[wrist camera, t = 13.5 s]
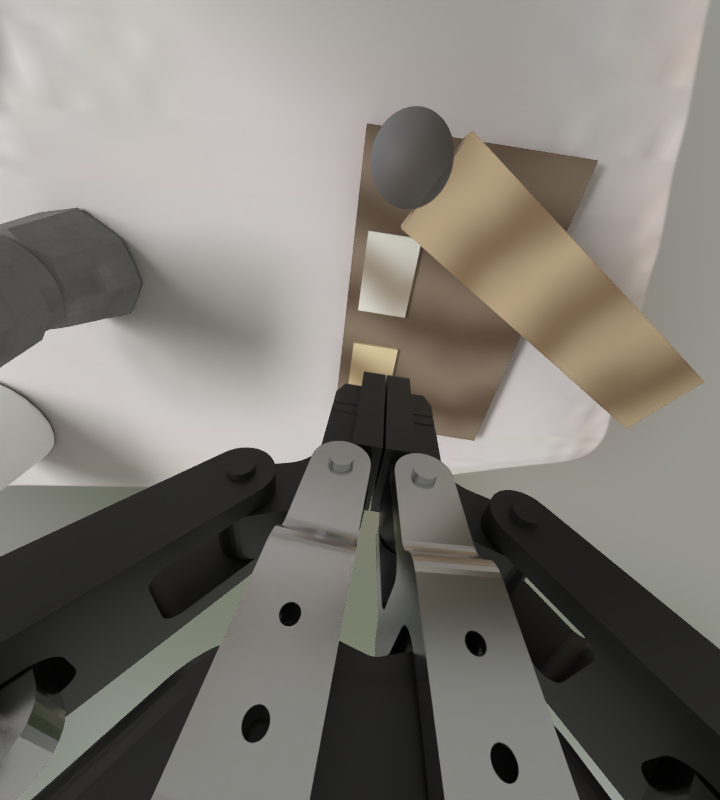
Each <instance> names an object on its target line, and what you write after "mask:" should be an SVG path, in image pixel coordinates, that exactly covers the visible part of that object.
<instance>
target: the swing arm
mask: <svg viewBox="0 0 720 800" xmlns="http://www.w3.org/2000/svg"><path fill="white" fill-rule="evenodd" d="M371 173H372V177H373V181H374V184H375V186H376V188H377V190H378V192H379V193H380V195H381V196H382V197H383V198H384V199H385V200H386V201H387V202H388V203H390V204H391V205H393V206H395V207H398V208H401V209H412V211H411V212H410V213H409V215H408V216H407V218H406V219H405V220H404V222H403V223H402V225H401V229H402V230H403V231H404V232H406V233H407V234H408V235H409V236H410V237H411V238H412V239H413V240H415V241H416V242H417V243H418V244H419V245H420V246H421V247H422V248H424V249H425V250H426V251H427V252H428V253H429V254H430V255H431V256H433V257H434V258H435V259H436V260H437V261H438V262H439V263H440V264H442V265H443V266H444V267H445V268H446V269H447V270H448V271H449V272H451V273H452V274H453V275H454V276H455V277H456V278H457V279H458V280H460V281H461V282H462V283H463V284H464V285H465V286H466V287H467V288H469V289H470V290H471V291H472V292H473V293H474V294H475V295H476V296H478V297H479V298H480V299H481V300H482V301H483V302H484V303H486V304H487V305H488V306H489V307H490V308H491V309H492V310H493V311H495V312H496V313H497V314H498V315H499V316H500V317H501V318H502V319H504V320H505V321H506V322H507V323H508V324H509V325H510V326H511V327H513V328H514V329H515V330H516V331H517V332H518V333H519V334H520V335H522V336H523V337H524V338H525V339H526V340H527V341H528V342H529V343H531V344H532V345H533V346H534V347H535V348H536V349H537V350H538V351H540V352H541V353H542V354H543V355H544V356H545V357H546V358H547V359H549V360H550V361H551V362H552V363H553V364H554V365H555V366H556V367H558V368H559V369H560V370H561V371H562V372H563V373H564V374H565V375H567V376H568V377H569V378H570V379H571V380H572V381H573V382H574V383H576V384H577V385H578V386H579V387H580V388H581V389H582V390H583V391H585V392H586V393H587V394H588V395H589V396H590V397H591V398H592V399H594V400H595V401H596V402H597V403H598V404H599V405H600V406H601V407H603V408H604V409H605V410H606V411H607V412H608V413H609V414H610V415H612V416H613V417H614V418H615V419H616V420H617V421H618V422H620V423H621V424H622V425H623V426H624V427H625V428H628V427H630V426H632V425H633V424H635V423H636V422H638V421H640V420H641V419H643V418H645V417H647V416H648V415H650V414H652V413H653V412H655V411H657V410H658V409H660V408H661V407H663V406H665V405H667V404H668V403H670V402H672V401H673V400H675V399H677V398H678V397H680V396H682V395H683V394H685V393H687V392H688V391H690V390H692V389H693V388H695V387H697V386H698V385H700V384H702V383H704V381H703V380H702V379H701V377H700V376H699V375H698V374H697V373H696V372H695V371H694V370H693V369H692V368H691V367H690V366H689V364H688V363H687V362H686V361H685V360H684V359H683V358H682V357H681V356H680V355H679V354H678V353H677V351H676V350H675V349H674V348H673V347H672V346H671V345H670V344H669V343H668V342H667V341H666V339H665V338H664V337H663V336H662V335H661V334H660V333H659V332H658V331H657V330H656V329H655V328H654V327H653V325H652V324H651V323H650V322H649V321H648V320H647V319H646V318H645V317H644V316H643V315H642V313H641V312H640V311H639V310H638V309H637V308H636V307H635V306H634V305H633V304H632V303H631V302H630V301H629V299H628V298H627V297H626V296H625V295H624V294H623V293H622V292H621V291H620V290H619V289H618V288H617V286H616V285H615V284H614V283H613V282H612V281H611V280H610V279H609V278H608V277H607V276H606V275H605V273H604V272H603V271H602V270H601V269H600V268H599V267H598V266H597V265H596V264H595V263H594V262H593V260H592V259H591V258H590V257H589V256H588V255H587V254H586V253H585V252H584V251H583V250H582V249H581V247H580V246H579V245H578V244H577V243H576V242H575V241H574V240H573V239H572V238H571V237H570V236H569V234H568V233H567V232H566V231H565V230H564V229H563V228H562V227H561V226H560V225H559V224H558V223H557V221H556V220H555V219H554V218H553V217H552V216H551V215H550V214H549V213H548V212H547V211H546V210H545V208H544V207H543V206H542V205H541V204H540V203H539V202H538V201H537V200H536V199H535V198H534V197H533V195H532V194H531V193H530V192H529V191H528V190H527V189H526V188H525V187H524V186H523V185H522V184H521V182H520V181H519V180H518V179H517V178H516V177H515V176H514V175H513V174H512V173H511V172H510V171H509V170H508V168H507V167H506V166H505V165H504V164H503V163H502V162H501V161H500V160H499V159H498V158H497V157H496V155H495V154H494V153H493V152H492V151H491V150H490V149H489V148H488V147H487V146H486V145H485V144H484V142H483V141H482V140H481V139H480V138H479V137H478V136H477V135H476V134H475V133H474V132H473V131H472V132H471V133H469V134H468V135H467V136H465V137H464V139H463V140H462V141H461V143H460V144H459V146H458V147H457V148H456V150H455V151H454V145H453V139H452V136H451V133H450V130H449V128H448V126H447V124H446V123H445V121H444V120H443V119H442V118H441V117H440V116H439V115H438V114H437V113H436V112H434V111H432V110H430V109H428V108H425V107H420V106H413V107H408V108H404V109H402V110H400V111H398V112H396V113H395V114H393V115H392V116H391V117H390V118H389V119H388V120H387V121H386V122H385V123H384V124H383V126H382V127H381V129H380V130H379V132H378V134H377V136H376V138H375V141H374V144H373V148H372V153H371Z"/></svg>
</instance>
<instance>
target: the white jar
mask: <svg viewBox="0 0 720 800" xmlns="http://www.w3.org/2000/svg"><path fill="white" fill-rule="evenodd" d="M53 445H54V433H53V431H52V428H51V426H50V424H49V422H48V421H47V420H46V419H45V417H44V416H43V415H42V413H41V412H40V411H39V410H38V409H37V408H35V407H34V406H33V405H32V404H31V403H30V402H29V401H27V400H26V399H25V398H23V397H22V396H20V395H19V394H17V393H15V392H14V391H12V390H11V389H9V388H7V387H4V386H2V385H0V491H1V490H2V489H4V488H5V487H6V486H8V485H9V484H10V483H12V482H13V481H14V480H16V479H17V478H18V477H19V476H21V475H22V474H23V473H25V472H26V471H27V470H28V469H30V468H31V467H32V466H34V465H35V464H36V463H38V462H39V461H40V460H41V459H43V458H44V457H45V456H47V455H48V453H49V452H50V450H51V449H52V447H53Z"/></svg>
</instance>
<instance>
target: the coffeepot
mask: <svg viewBox="0 0 720 800" xmlns="http://www.w3.org/2000/svg"><path fill="white" fill-rule="evenodd" d="M141 284H142V283H141V279H140V276H139V273H138V270H137V267H136V264H135V262H134V260H133V258H132V256H131V254H130V252H129V251H128V249H127V248H126V247H125V245H124V243H123V241H122V239H121V238H119V237H118V236H117V235H116V234H115V233H114V232H112V231H111V230H110V229H109V228H108V227H106V226H105V225H104V224H103V223H101V222H100V221H98V220H96V219H95V218H93V217H91V216H89V215H87V214H86V213H84V212H83V211H81V210H80V209H79V208H72V209H64V210H56V211H48V212H41V213H36V214H33V215H30V216H27V217H23V218H20V219H17V220H13V221H10V222H7V223H3V224H0V367H2V366H3V365H5V364H6V363H8V362H9V361H11V360H12V359H14V358H15V357H17V356H18V355H20V354H21V353H23V352H24V351H26V350H27V349H29V348H30V347H32V346H33V345H35V344H36V343H38V342H39V341H41V340H42V339H43V336H44V333H45V331H47V330H49V329H57V328H63V327H69V326H74V325H78V324H83V323H88V322H92V321H97V320H101V319H106V318H111V317H115V316H120V315H124V314H129V313H131V311H132V308H133V306H134V304H135V302H136V301H137V299H138V296H139V292H140V287H141Z"/></svg>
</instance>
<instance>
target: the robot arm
mask: <svg viewBox="0 0 720 800" xmlns="http://www.w3.org/2000/svg"><path fill="white" fill-rule="evenodd" d="M434 426H435V425H434V419H433V413H432V407H431V405H430V404H429V402H428V401H427V400H426V399H425V397H424V396H422V395H415V394H411V387H410V379H409V378H404V377H398V376H392V375H387V377H386V375H385V374H379V373H372V372H366V371H364V374H363V380H362V386H358V385H352V384H346V383H345V384H344V385H343V386H342V387H341V388H340V389H338V390H337V392H336V395H335V399H334V403H333V406H332V410H331V413H330V417H329V420H328V424H327V427H326V431H325V434H324V438H323V441H322V444H321V446H319V447H318V448H317V449H316V450H315V451H314V453H313V454H312V456H311V457H309V458H307V459H304V460H301V461H298V462H292V463H281V464H275V463H274V461H273V459H272V458H271V456H270V455H268V454H267V453H266V452H264V451H262V450H259V449H255V448H237V449H233V450H229V451H227V452H224V453H222V454H220V455H218V456H216V457H214V458H212V459H209V460H207V461H205V462H203V463H201V464H199V465H197V466H194V467H192V468H190V469H188V470H186V471H184V472H181V473H179V474H177V475H175V476H173V477H171V478H169V479H166V480H164V481H162V482H160V483H158V484H156V485H154V486H151V487H149V488H147V489H145V490H143V491H141V492H138V493H136V494H134V495H132V496H130V497H128V498H126V499H123V500H121V501H119V502H117V503H115V504H113V505H111V506H108V507H106V508H104V509H102V510H100V511H98V512H95V513H94V514H91V515H89V516H87V517H85V518H83V519H80V520H79V521H76V522H74V523H72V524H70V525H68V526H66V527H63V528H61V529H59V530H57V531H55V532H52V533H50V534H48V535H46V536H44V537H42V538H40V539H38V540H35V541H33V542H31V543H29V544H27V545H25V546H23V547H20V548H18V549H16V550H14V551H12V552H10V553H7V554H5V555H3V556H1V557H0V800H16V799H17V798H18V797H19V796H20V795H21V794H22V793H23V792H24V791H25V790H26V789H27V788H28V787H29V786H30V785H31V784H32V782H33V781H34V780H35V779H36V778H37V777H38V775H39V774H40V773H41V771H42V770H43V768H44V767H45V766H46V764H47V763H48V761H49V759H50V758H51V756H52V754H53V753H54V750H55V748H56V746H57V744H58V742H59V740H60V737H61V734H62V731H63V727H64V723H65V717H66V716H67V715H69V714H70V713H71V712H73V711H74V710H75V709H77V708H78V707H79V706H80V705H82V704H83V703H84V702H86V701H87V700H88V699H90V698H91V697H92V696H93V695H95V694H96V693H97V692H99V691H100V690H101V689H103V688H104V687H105V686H106V685H108V684H109V683H110V682H111V681H113V680H114V679H116V678H117V677H118V676H119V675H121V674H122V673H123V672H125V671H126V670H127V669H128V668H130V667H131V666H132V665H134V664H135V663H136V662H137V661H139V660H140V659H141V658H143V657H144V656H145V655H147V654H148V653H149V652H151V651H152V650H153V649H154V648H156V647H157V646H158V645H160V644H161V643H162V642H163V641H165V640H166V639H167V638H169V637H170V636H171V635H173V634H174V633H175V632H177V631H178V630H179V629H180V628H182V627H183V626H184V625H186V624H187V623H188V622H190V621H191V620H192V619H193V618H195V617H196V616H197V615H199V614H200V613H201V612H202V611H204V610H205V609H206V608H208V607H209V606H210V605H212V604H213V603H214V602H215V601H217V600H218V599H219V598H221V597H222V596H223V595H224V594H226V593H227V592H228V591H230V590H231V589H232V588H234V587H235V586H236V585H238V584H239V583H240V582H241V581H243V580H244V579H245V578H246V577H248V576H249V575H250V574H252V575H251V577H250V579H249V582H248V584H247V586H246V588H245V590H244V593H243V595H242V597H241V599H240V602H239V604H238V606H237V608H236V611H235V613H234V615H233V617H232V620H231V622H230V624H229V627H228V628H227V631H226V633H225V636H224V638H223V640H222V642H221V644H220V645H219V646H217V647H215V648H212V649H210V650H208V651H206V652H205V653H203V654H201V655H200V656H198V657H196V658H194V659H193V660H191V661H190V662H188V663H187V664H186V665H184V666H183V667H182V668H180V669H179V670H177V671H176V672H175V673H174V674H172V675H171V676H170V677H169V678H168V679H166V680H165V681H164V682H163V683H162V684H161V685H160V686H158V687H157V688H156V689H155V690H154V691H153V692H152V693H151V694H149V695H148V696H147V697H146V698H145V699H144V700H143V701H142V702H141V703H139V704H138V705H137V706H136V707H135V708H134V709H133V710H132V711H130V712H129V713H128V714H127V715H126V716H125V717H124V718H123V719H121V720H120V721H119V722H118V723H117V724H116V725H115V726H114V727H113V728H112V729H110V730H109V731H108V732H107V733H106V734H105V735H103V736H102V737H101V738H100V739H99V740H98V741H97V742H96V743H95V744H93V745H92V746H91V747H90V748H89V749H88V750H87V751H86V752H84V754H82V755H81V756H80V757H79V758H78V759H77V760H76V761H74V762H73V763H72V764H71V765H70V766H69V767H68V768H66V769H65V770H64V771H63V772H62V773H61V774H60V775H59V776H57V777H56V778H55V779H54V780H53V781H52V782H51V783H50V784H49V785H47V786H46V787H45V788H44V789H43V790H42V791H41V792H39V793H38V794H37V795H36V796H35V797H34V798H33V799H32V800H611V798H610V797H609V796H608V794H607V793H606V792H605V791H604V789H603V788H602V786H601V785H600V784H599V782H598V781H597V780H596V778H595V777H594V776H593V775H592V773H591V772H590V770H589V769H588V768H587V766H586V765H585V764H584V763H583V761H582V760H581V758H580V757H579V756H578V754H577V753H576V752H575V751H574V749H573V748H572V746H571V745H570V744H569V743H568V741H567V740H566V739H565V738H564V736H563V735H562V734H561V733H560V732H559V730H558V729H557V728H556V727H555V726H554V725H553V722H552V719H551V716H550V713H549V711H548V707H547V705H546V702H547V704H548V705H549V706H550V707H551V709H552V710H553V711H554V712H555V714H556V715H557V716H558V717H559V718H560V720H561V721H562V722H563V724H564V725H565V726H566V727H567V729H568V730H569V731H570V732H571V734H572V735H573V736H574V737H575V738H576V740H577V741H578V742H579V744H580V745H581V746H582V747H583V749H584V750H585V751H586V752H587V754H588V755H589V756H590V757H591V758H592V760H593V761H594V762H595V763H596V765H597V766H598V767H599V768H600V770H601V771H602V772H603V773H604V775H605V776H606V777H607V778H608V780H609V781H610V782H611V783H612V785H613V786H614V787H615V788H616V789H617V791H618V792H619V793H620V795H621V796H622V797H623V798H624V800H720V649H719V648H717V647H716V646H715V645H714V644H713V643H711V642H710V641H709V640H708V639H706V638H705V637H704V636H702V634H700V633H699V632H698V631H697V630H695V629H694V628H693V627H692V626H691V625H689V624H688V623H687V622H686V621H684V620H683V619H682V618H681V617H679V616H678V615H677V614H676V613H675V612H673V611H672V610H671V609H670V608H668V607H667V606H666V605H665V604H664V603H662V602H661V601H660V600H659V599H657V598H656V597H655V596H653V595H652V594H651V593H650V592H649V591H648V590H646V589H645V588H644V587H643V586H641V585H640V584H639V583H638V582H637V581H635V580H634V579H633V578H632V577H630V576H629V575H628V574H627V573H625V572H624V571H623V570H622V569H621V568H619V567H618V566H617V565H616V564H614V563H613V562H612V561H611V560H609V559H608V558H607V557H606V556H605V555H603V554H602V553H601V552H600V551H599V550H597V549H596V548H595V547H594V546H592V545H591V544H590V543H589V542H587V541H586V540H585V539H584V538H583V537H581V536H580V535H579V534H578V533H577V532H575V531H574V530H573V529H572V528H570V527H569V526H568V525H567V524H565V523H564V522H563V521H562V520H561V519H559V518H558V517H557V516H556V515H554V514H553V513H552V512H551V511H550V510H548V509H547V508H546V507H545V506H543V505H542V504H541V503H539V502H538V501H537V500H535V499H534V498H532V497H530V496H528V495H526V494H524V493H521V492H518V491H512V490H504V491H499V492H497V493H496V494H495V495H493V497H492V498H491V500H490V499H488V498H485V497H483V496H481V495H478V494H476V493H474V492H471V491H469V490H467V489H465V488H463V487H461V486H460V485H458V484H457V483H455V481H454V478H453V475H452V473H451V471H450V470H449V469H448V467H447V466H446V465H445V464H444V463H442V462H441V459H440V453H439V448H438V442H437V436H436V430H435V428H434ZM371 496H372V499H371ZM370 501H371V511H375V512H380V516H379V527H378V531H377V534H376V570H377V603H378V620H377V630H376V638H375V657H373V656H369V655H366V654H364V653H362V652H360V651H358V650H356V649H354V648H352V647H350V646H348V645H346V644H344V643H342V642H340V641H339V638H340V632H341V628H342V622H343V617H344V611H345V606H346V601H347V595H348V590H349V584H350V579H351V574H352V568H353V563H354V557H355V552H356V546H357V538H358V532H359V530H360V527H361V522H362V518H363V513H364V510H368V509H369V505H370ZM526 577H527V578H528V579H529V580H530V581H531V582H532V583H533V584H534V585H535V587H536V588H538V590H539V591H540V592H542V594H543V595H544V596H545V597H546V598H547V599H549V601H550V602H551V603H552V604H553V605H554V606H555V607H556V608H557V609H558V610H559V611H560V612H561V613H562V614H563V615H564V616H565V617H566V618H567V619H568V620H569V621H570V622H571V623H572V624H573V625H574V626H575V627H576V628H577V629H578V630H579V631H580V632H581V633H582V634H583V635H584V637H585V638H583V637H581V636H579V635H578V634H577V633H575V632H574V631H573V630H572V629H571V628H570V627H569V626H568V625H567V624H566V623H565V622H564V621H563V620H562V619H561V618H560V617H559V616H558V615H557V614H556V613H555V612H554V611H553V610H552V609H551V608H550V607H549V606H548V605H547V604H546V603H545V602H544V600H543V599H542V598H541V597H540V596H539V595H538V594H537V593H536V592H535V591H534V590H533V589H532V588H531V587H530V586H529V585H528V584H527V583H526V582H525V581H524V579H525V578H526ZM545 701H546V702H545Z"/></svg>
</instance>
